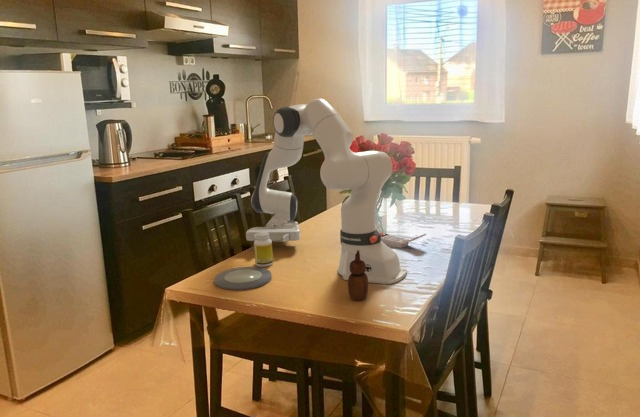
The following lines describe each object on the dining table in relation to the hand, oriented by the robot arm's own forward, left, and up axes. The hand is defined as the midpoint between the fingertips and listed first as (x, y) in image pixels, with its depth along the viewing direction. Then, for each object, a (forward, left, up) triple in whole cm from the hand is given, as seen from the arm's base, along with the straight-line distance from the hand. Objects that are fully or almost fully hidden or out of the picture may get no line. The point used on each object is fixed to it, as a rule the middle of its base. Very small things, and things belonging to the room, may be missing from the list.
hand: (269, 240), depth 193 cm
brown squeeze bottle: (-47, +21, -6) cm, 52 cm away
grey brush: (-35, -31, -6) cm, 47 cm away
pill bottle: (-4, +9, -6) cm, 11 cm away
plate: (-7, +24, -6) cm, 25 cm away
